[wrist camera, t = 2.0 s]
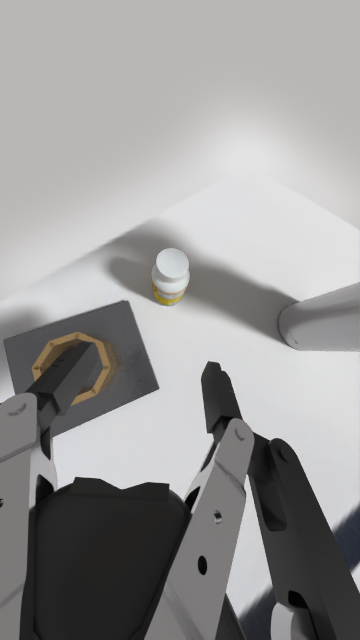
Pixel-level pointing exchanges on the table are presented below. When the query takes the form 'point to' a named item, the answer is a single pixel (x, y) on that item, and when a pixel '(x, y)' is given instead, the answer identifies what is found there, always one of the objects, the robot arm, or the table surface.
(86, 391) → the collar plate
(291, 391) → the table surface
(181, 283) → the supplement bottle
